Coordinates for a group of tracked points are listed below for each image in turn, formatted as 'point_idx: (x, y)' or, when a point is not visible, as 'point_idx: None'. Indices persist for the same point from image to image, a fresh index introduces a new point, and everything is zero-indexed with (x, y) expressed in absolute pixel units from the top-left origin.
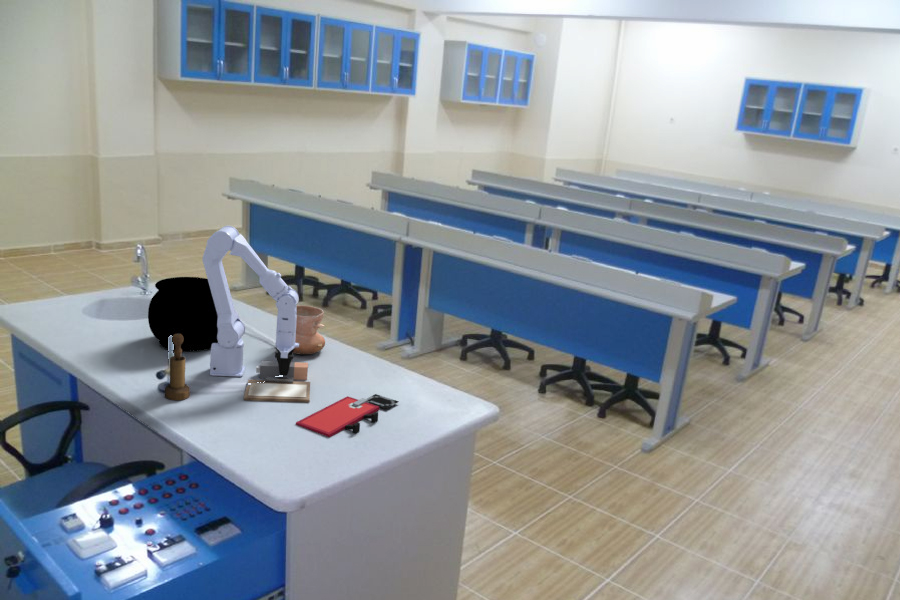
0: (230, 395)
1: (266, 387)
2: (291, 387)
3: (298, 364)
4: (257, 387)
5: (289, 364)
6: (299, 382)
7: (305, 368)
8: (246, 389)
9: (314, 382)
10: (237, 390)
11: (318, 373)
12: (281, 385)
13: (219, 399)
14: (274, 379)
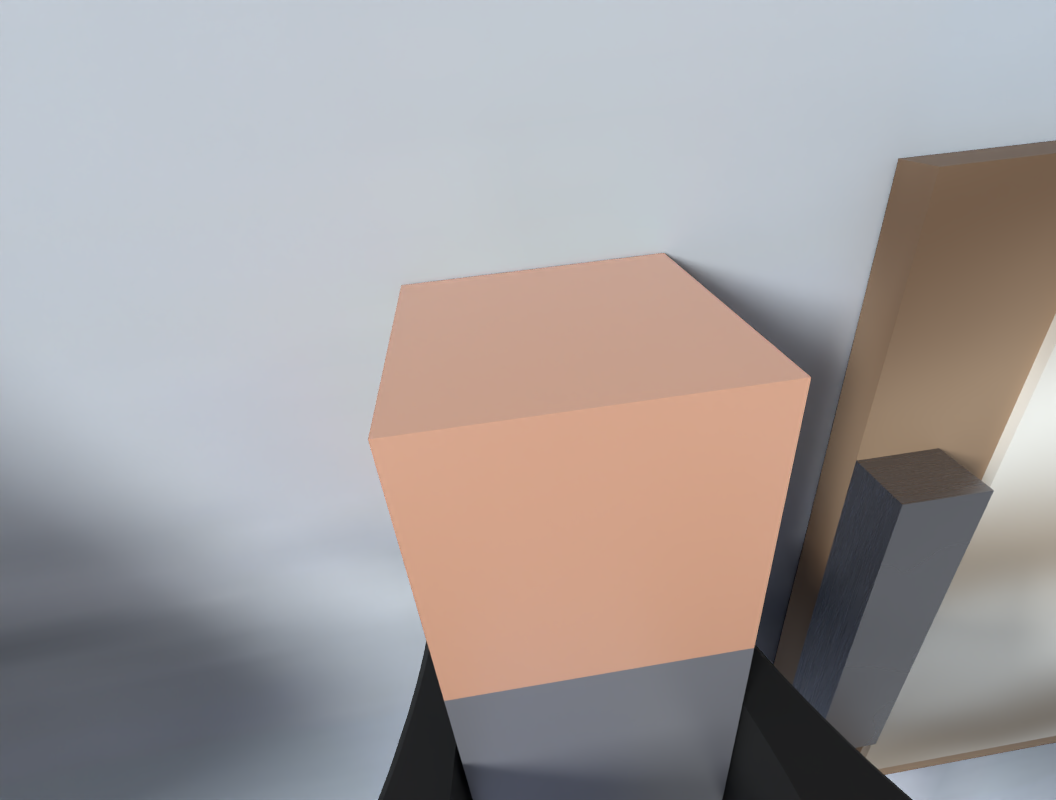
0: (996, 773)
1: (1013, 661)
2: None
3: (582, 617)
4: (987, 714)
5: (903, 795)
6: (922, 366)
7: (781, 418)
8: (988, 753)
9: (799, 70)
10: (913, 770)
11: (203, 17)
12: (1005, 559)
13: (1043, 792)
14: (896, 673)
